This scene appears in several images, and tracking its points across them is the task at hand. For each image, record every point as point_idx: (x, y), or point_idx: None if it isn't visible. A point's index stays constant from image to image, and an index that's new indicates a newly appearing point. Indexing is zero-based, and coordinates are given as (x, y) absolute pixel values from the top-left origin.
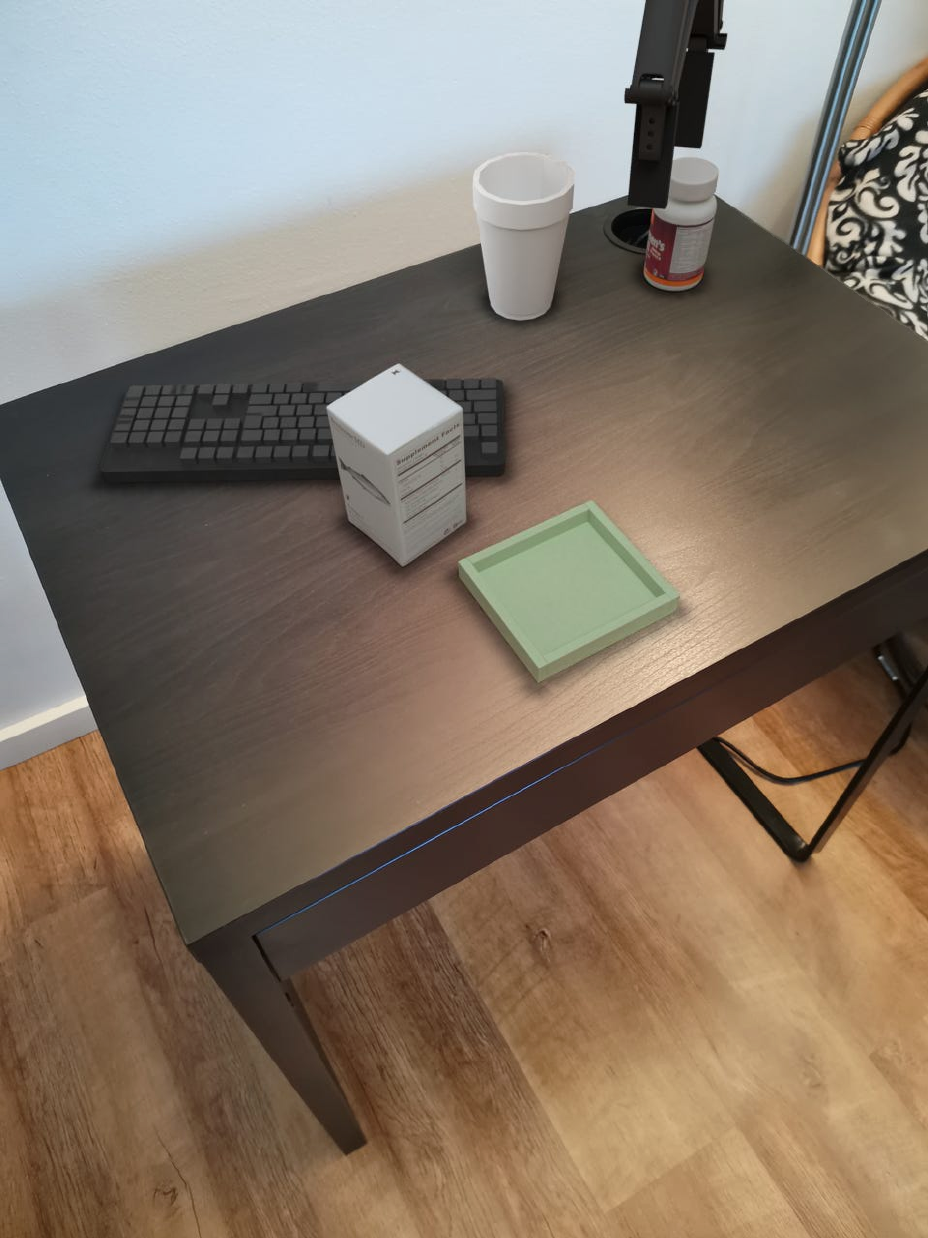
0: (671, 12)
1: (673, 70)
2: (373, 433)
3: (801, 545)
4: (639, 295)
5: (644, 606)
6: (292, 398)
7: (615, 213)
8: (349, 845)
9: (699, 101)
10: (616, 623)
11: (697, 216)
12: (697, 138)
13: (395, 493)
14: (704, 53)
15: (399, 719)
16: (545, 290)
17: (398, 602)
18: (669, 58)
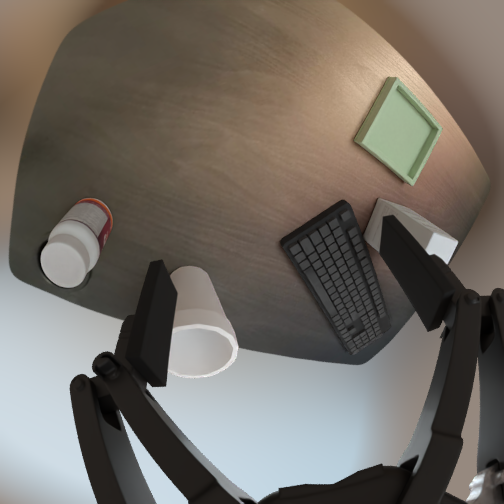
0: None
1: None
2: (450, 255)
3: (318, 21)
4: (127, 225)
5: (408, 92)
6: (343, 313)
7: (64, 290)
8: (478, 161)
9: (156, 309)
10: (419, 103)
11: (83, 229)
12: (162, 271)
13: (439, 228)
14: (142, 365)
15: (453, 168)
16: (195, 276)
17: (419, 198)
18: None
